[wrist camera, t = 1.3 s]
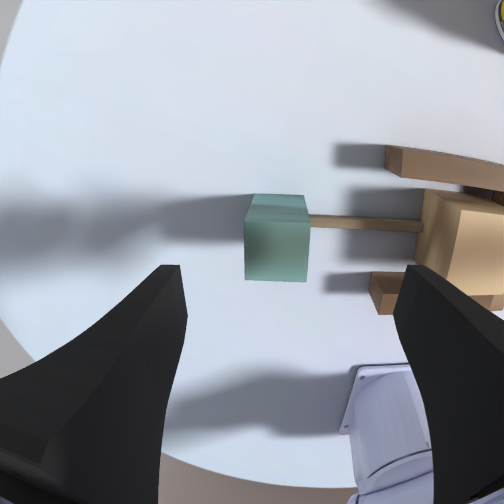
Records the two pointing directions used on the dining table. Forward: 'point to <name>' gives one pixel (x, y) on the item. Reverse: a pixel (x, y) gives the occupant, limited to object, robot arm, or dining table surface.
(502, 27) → the supplement bottle
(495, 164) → the wooden u-shaped bracket
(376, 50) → the dining table surface
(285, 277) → the wooden blocks on rod
